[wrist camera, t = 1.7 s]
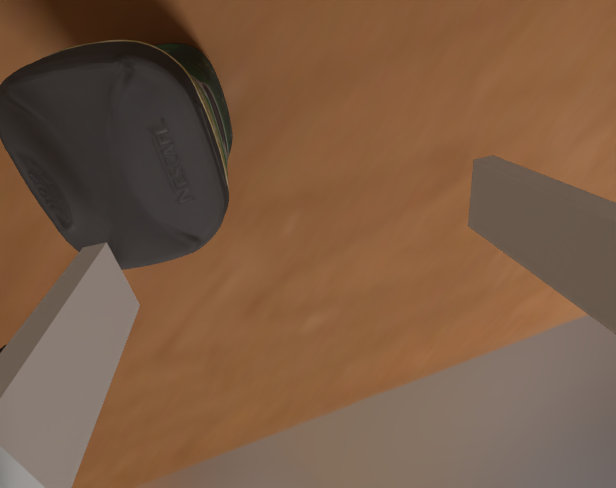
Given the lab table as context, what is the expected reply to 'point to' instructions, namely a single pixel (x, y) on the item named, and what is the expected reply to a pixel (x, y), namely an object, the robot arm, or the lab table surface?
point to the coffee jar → (123, 146)
